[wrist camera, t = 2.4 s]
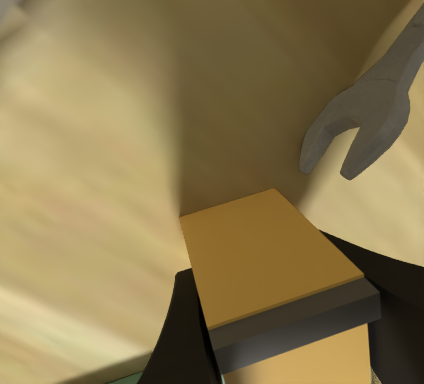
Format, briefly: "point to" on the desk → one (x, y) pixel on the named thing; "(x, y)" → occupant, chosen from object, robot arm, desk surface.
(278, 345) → the plug
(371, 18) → the desk surface
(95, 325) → the desk surface
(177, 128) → the desk surface
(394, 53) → the combination wrench
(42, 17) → the desk surface
